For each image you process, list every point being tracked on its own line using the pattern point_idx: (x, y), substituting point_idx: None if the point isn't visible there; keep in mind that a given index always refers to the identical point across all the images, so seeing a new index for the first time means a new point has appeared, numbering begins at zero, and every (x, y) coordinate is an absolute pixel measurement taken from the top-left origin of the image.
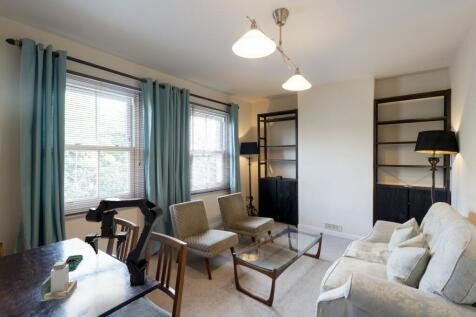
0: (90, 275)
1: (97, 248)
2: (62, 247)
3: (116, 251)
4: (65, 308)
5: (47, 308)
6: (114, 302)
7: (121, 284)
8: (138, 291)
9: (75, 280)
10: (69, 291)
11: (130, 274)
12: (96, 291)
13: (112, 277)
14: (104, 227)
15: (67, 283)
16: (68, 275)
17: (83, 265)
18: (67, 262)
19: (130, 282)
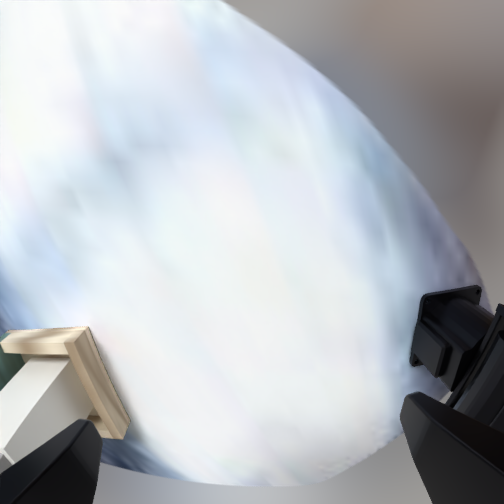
0: (96, 212)
1: (56, 489)
2: None
3: (415, 452)
4: (174, 468)
5: (109, 454)
6: (353, 452)
7: (363, 345)
8: (439, 390)
9: (70, 347)
10: (119, 426)
11: (438, 375)
12: (240, 399)
13: (278, 257)
14: None
15: (65, 391)
16: (39, 402)
17: (10, 80)
18: None
19: (415, 352)
